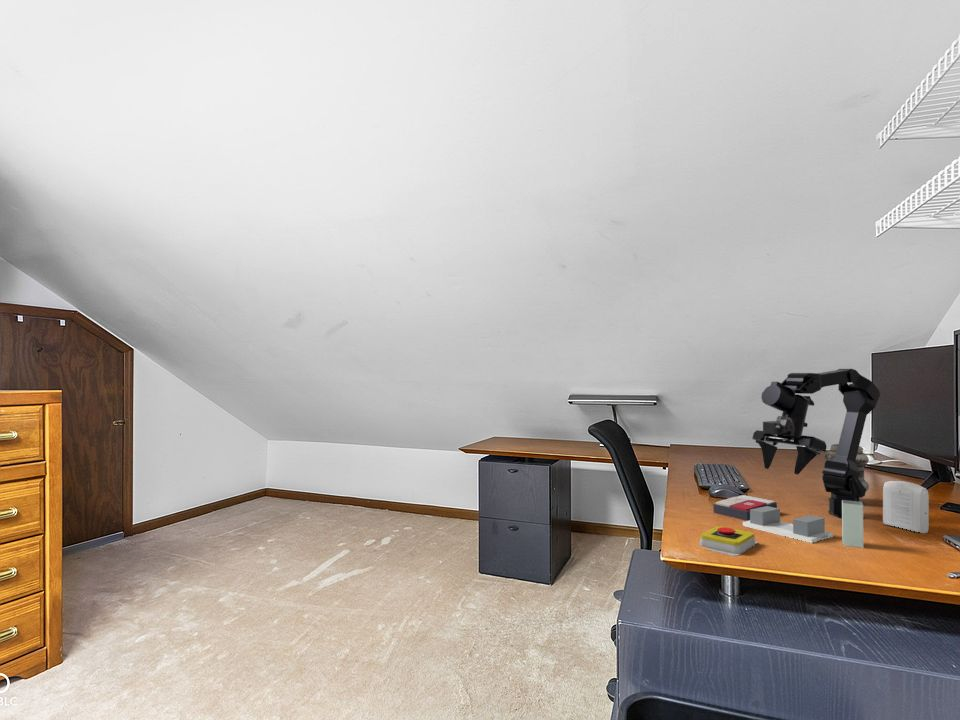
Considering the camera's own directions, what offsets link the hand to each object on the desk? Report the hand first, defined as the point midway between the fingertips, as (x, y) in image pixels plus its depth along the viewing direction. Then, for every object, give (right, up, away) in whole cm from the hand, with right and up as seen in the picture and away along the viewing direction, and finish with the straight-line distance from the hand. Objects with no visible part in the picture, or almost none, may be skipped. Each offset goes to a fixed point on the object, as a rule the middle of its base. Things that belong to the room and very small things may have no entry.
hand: (780, 471), depth 154 cm
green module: (+8, -14, -18) cm, 24 cm away
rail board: (-2, -14, -7) cm, 16 cm away
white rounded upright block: (+31, -15, -3) cm, 35 cm away
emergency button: (-23, -15, -19) cm, 33 cm away
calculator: (-4, -15, +12) cm, 20 cm away
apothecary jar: (+36, -15, +27) cm, 47 cm away
